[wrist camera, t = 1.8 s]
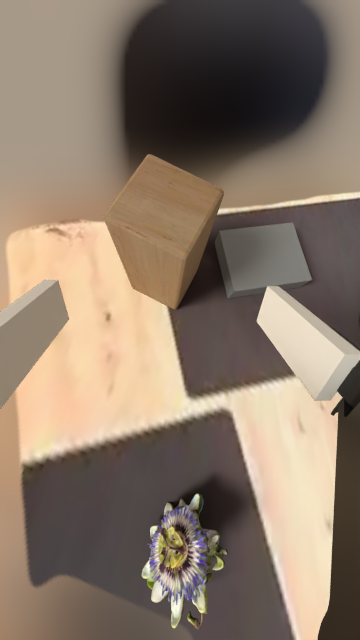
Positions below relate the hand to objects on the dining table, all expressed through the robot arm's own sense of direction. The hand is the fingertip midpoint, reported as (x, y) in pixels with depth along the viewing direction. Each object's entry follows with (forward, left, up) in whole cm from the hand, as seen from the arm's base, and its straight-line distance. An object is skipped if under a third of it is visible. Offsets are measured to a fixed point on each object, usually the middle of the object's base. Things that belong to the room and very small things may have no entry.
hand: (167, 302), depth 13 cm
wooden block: (-2, -13, -26) cm, 29 cm away
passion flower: (+2, +30, -26) cm, 40 cm away
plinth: (-22, -14, -26) cm, 36 cm away
